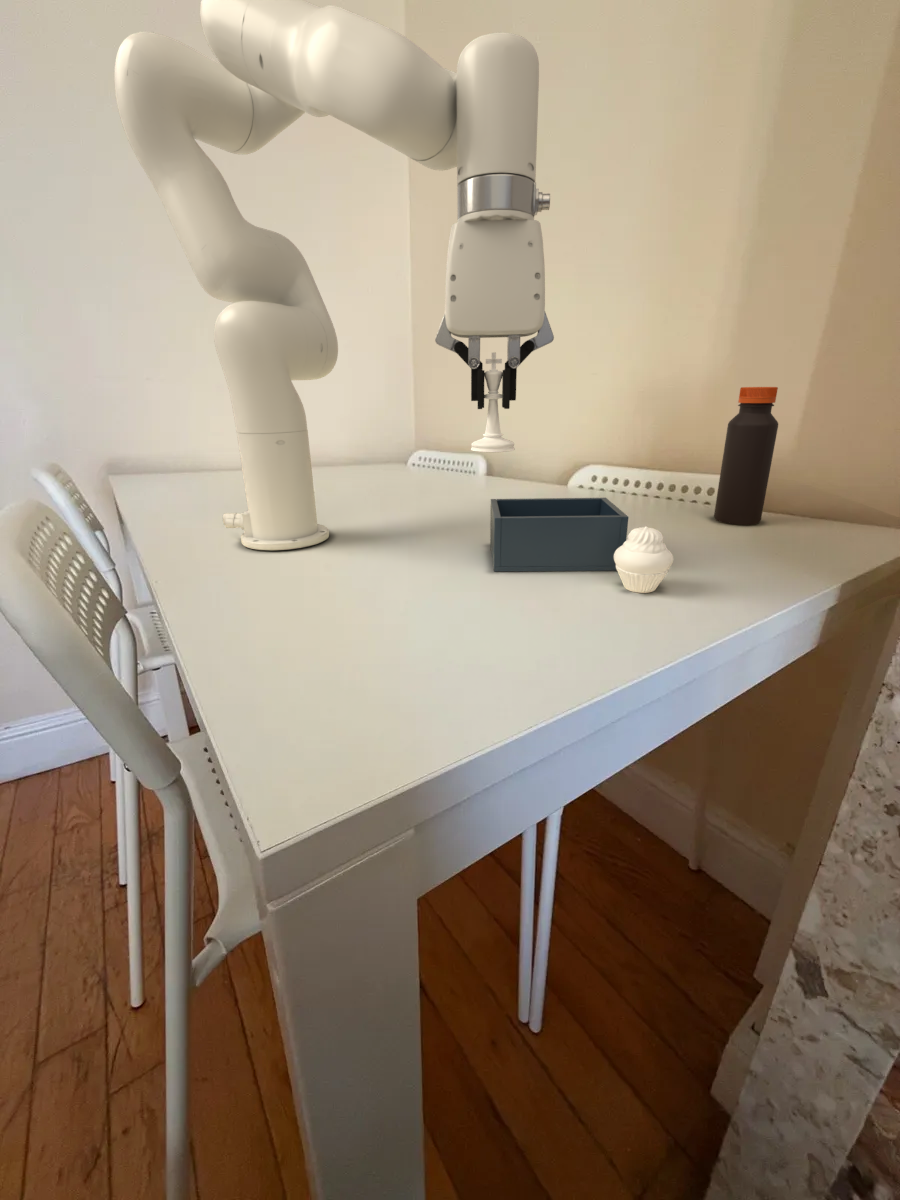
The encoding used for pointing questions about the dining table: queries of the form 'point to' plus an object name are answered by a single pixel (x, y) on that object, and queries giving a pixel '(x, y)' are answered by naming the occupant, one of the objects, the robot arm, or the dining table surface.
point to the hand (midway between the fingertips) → (493, 406)
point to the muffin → (643, 560)
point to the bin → (556, 534)
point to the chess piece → (493, 414)
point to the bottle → (747, 458)
